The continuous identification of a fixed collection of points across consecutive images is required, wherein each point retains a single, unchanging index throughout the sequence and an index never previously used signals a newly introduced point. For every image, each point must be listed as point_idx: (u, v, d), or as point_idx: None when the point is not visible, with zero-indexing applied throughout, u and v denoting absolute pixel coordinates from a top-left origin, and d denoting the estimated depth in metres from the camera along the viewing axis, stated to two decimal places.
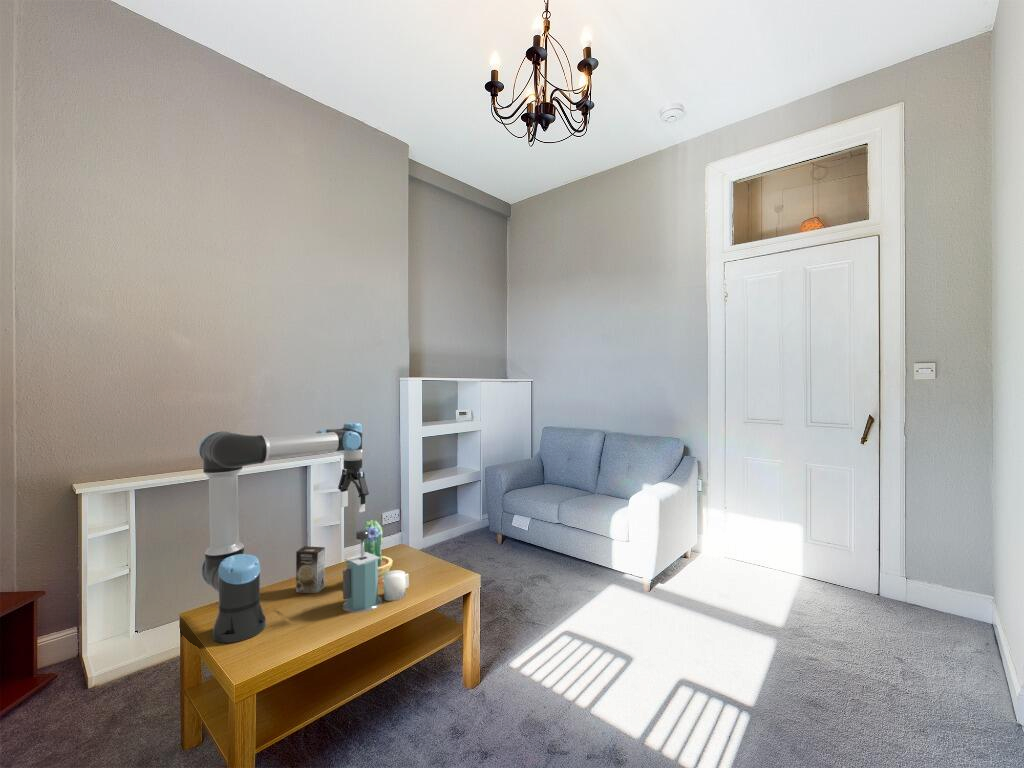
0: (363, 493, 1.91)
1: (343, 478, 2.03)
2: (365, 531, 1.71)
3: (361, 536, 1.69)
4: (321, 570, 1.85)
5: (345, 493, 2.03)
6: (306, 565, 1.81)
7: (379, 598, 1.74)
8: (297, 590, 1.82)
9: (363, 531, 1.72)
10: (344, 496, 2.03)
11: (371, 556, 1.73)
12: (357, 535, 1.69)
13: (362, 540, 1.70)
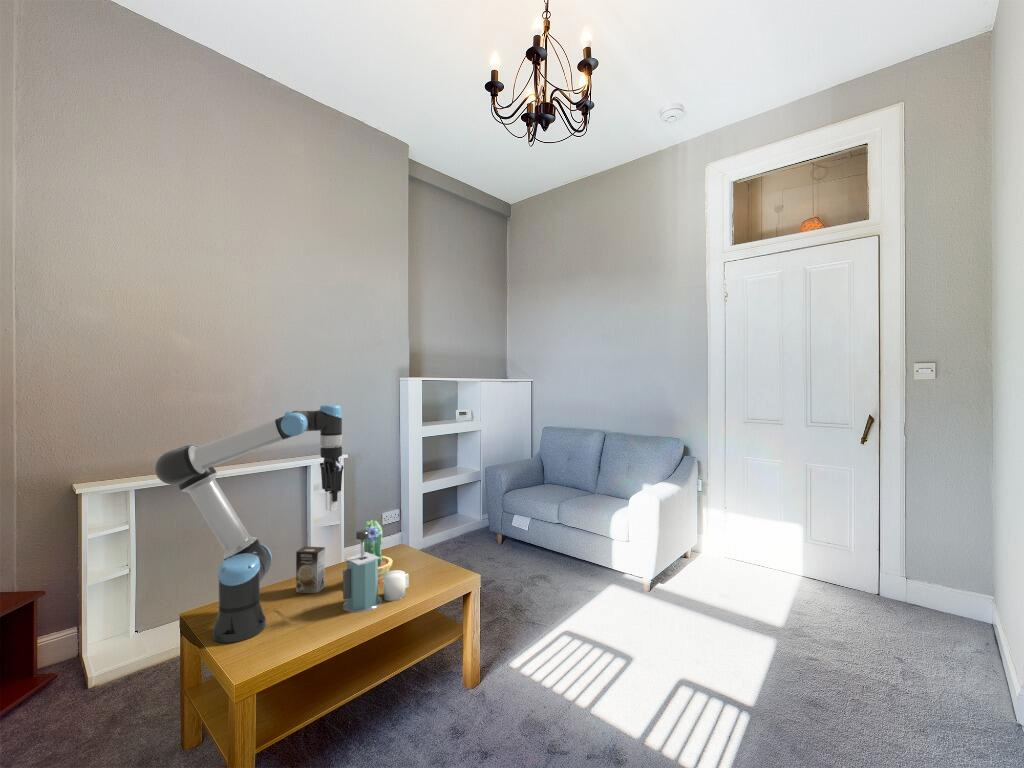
0: (335, 490, 1.70)
1: (324, 473, 1.76)
2: (365, 531, 1.71)
3: (361, 536, 1.69)
4: (321, 570, 1.85)
5: None
6: (306, 565, 1.81)
7: (379, 598, 1.74)
8: (297, 590, 1.82)
9: (363, 531, 1.72)
10: (329, 497, 1.74)
11: (371, 556, 1.73)
12: (357, 535, 1.69)
13: (362, 540, 1.70)
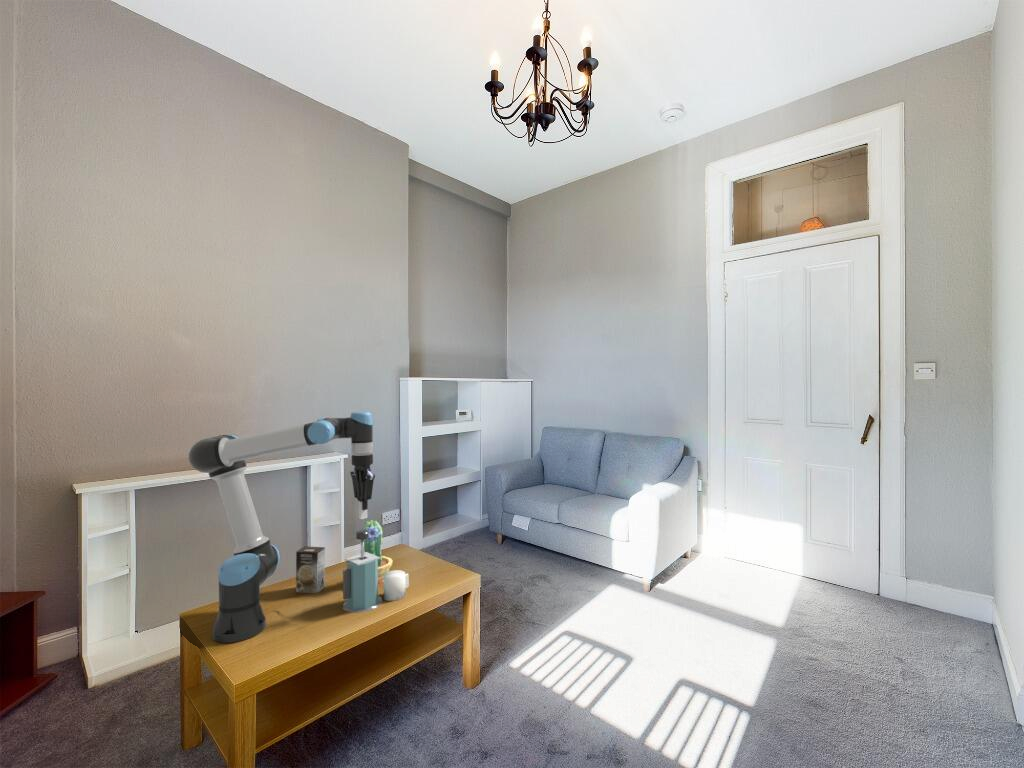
0: (365, 498, 1.68)
1: (355, 481, 1.73)
2: (365, 531, 1.71)
3: (361, 536, 1.69)
4: (321, 570, 1.85)
5: None
6: (306, 565, 1.81)
7: (379, 598, 1.74)
8: (297, 590, 1.82)
9: (363, 531, 1.72)
10: None
11: (371, 556, 1.73)
12: (357, 535, 1.69)
13: (362, 540, 1.70)
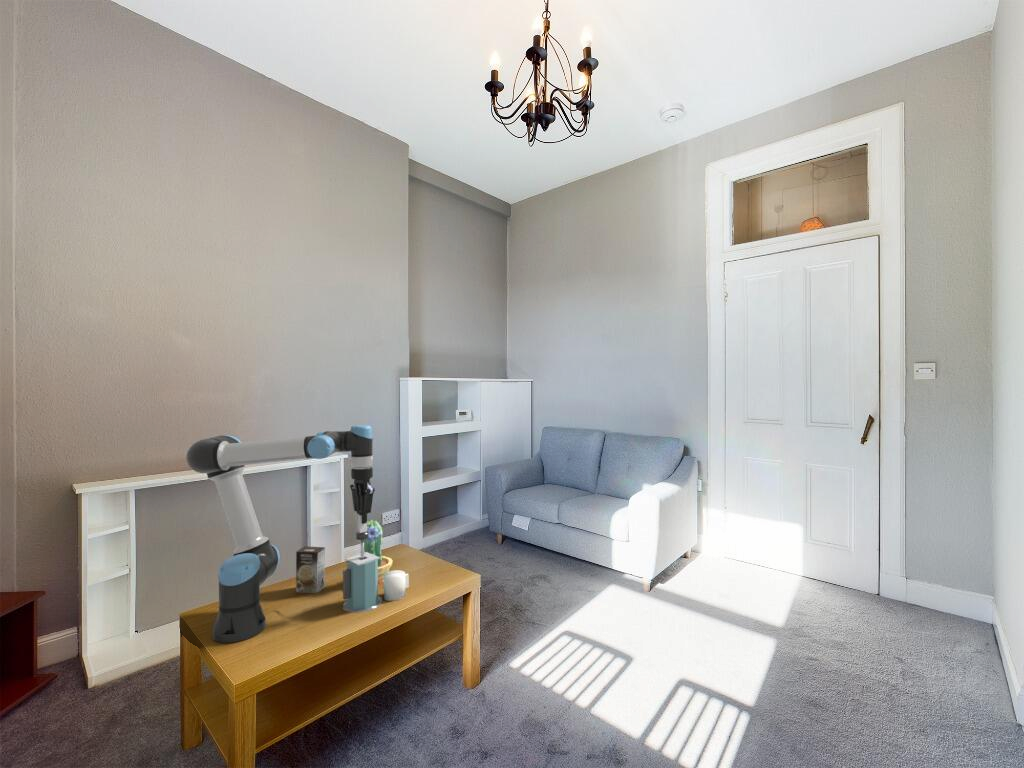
0: (365, 512, 1.68)
1: (355, 494, 1.73)
2: None
3: (361, 537, 1.69)
4: (321, 570, 1.85)
5: None
6: (306, 565, 1.81)
7: (379, 598, 1.74)
8: (297, 590, 1.82)
9: None
10: None
11: (371, 556, 1.73)
12: (357, 535, 1.69)
13: (362, 540, 1.70)
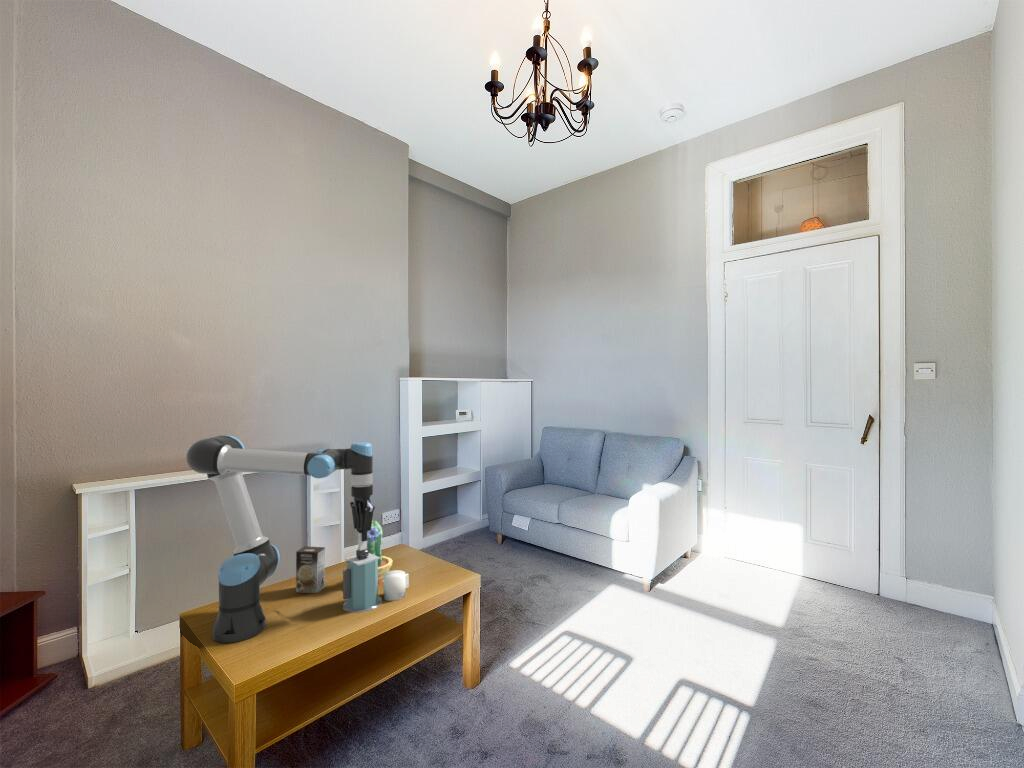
0: (365, 530, 1.68)
1: (355, 512, 1.73)
2: (365, 549, 1.71)
3: (361, 554, 1.69)
4: (321, 570, 1.85)
5: None
6: (306, 565, 1.81)
7: (379, 598, 1.74)
8: (297, 590, 1.82)
9: None
10: None
11: (371, 556, 1.73)
12: (357, 553, 1.69)
13: (362, 558, 1.70)
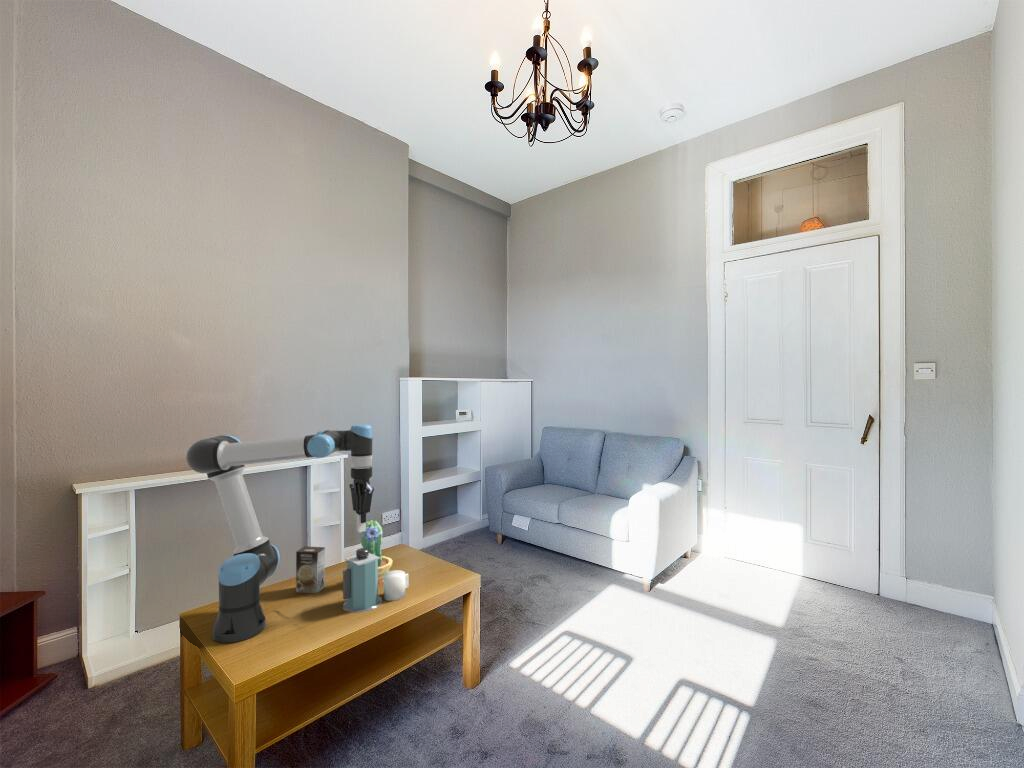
0: (364, 512, 1.68)
1: (354, 494, 1.73)
2: (365, 549, 1.71)
3: (361, 554, 1.69)
4: (321, 570, 1.85)
5: None
6: (306, 565, 1.81)
7: (379, 598, 1.74)
8: (297, 590, 1.82)
9: (363, 549, 1.71)
10: None
11: (371, 556, 1.73)
12: (357, 553, 1.69)
13: (362, 558, 1.70)
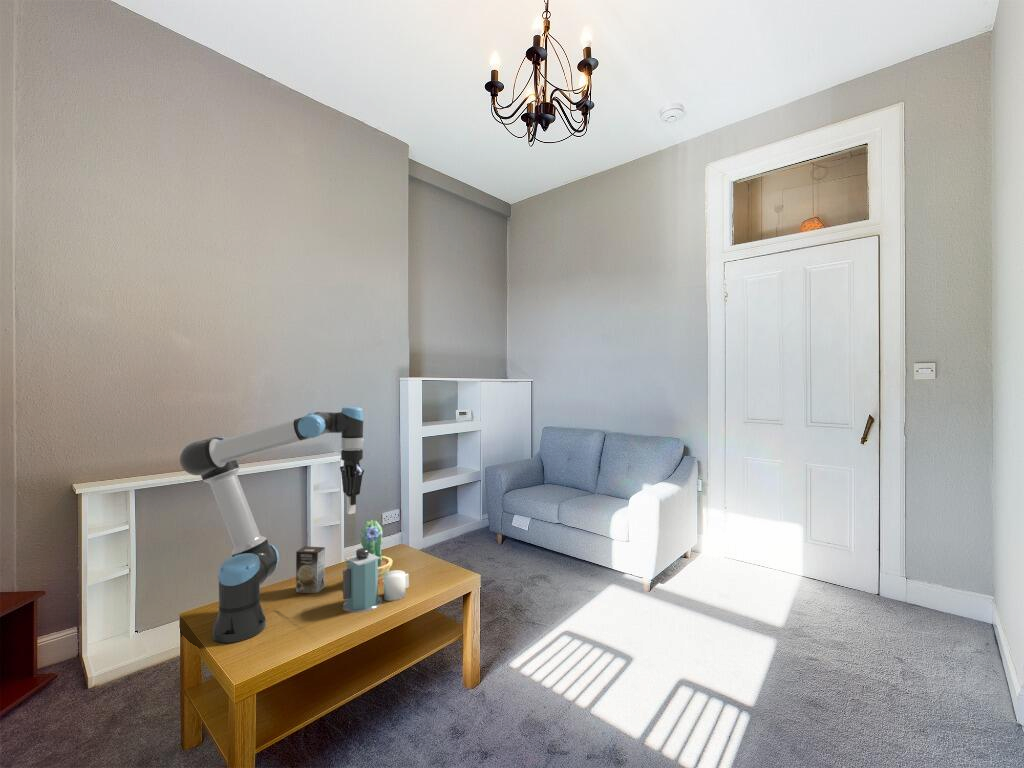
0: (353, 494, 1.68)
1: (344, 476, 1.73)
2: (365, 549, 1.71)
3: (361, 554, 1.69)
4: (321, 570, 1.85)
5: None
6: (306, 565, 1.81)
7: (379, 598, 1.74)
8: (297, 590, 1.82)
9: (363, 549, 1.71)
10: None
11: (371, 556, 1.73)
12: (357, 553, 1.69)
13: (362, 558, 1.70)
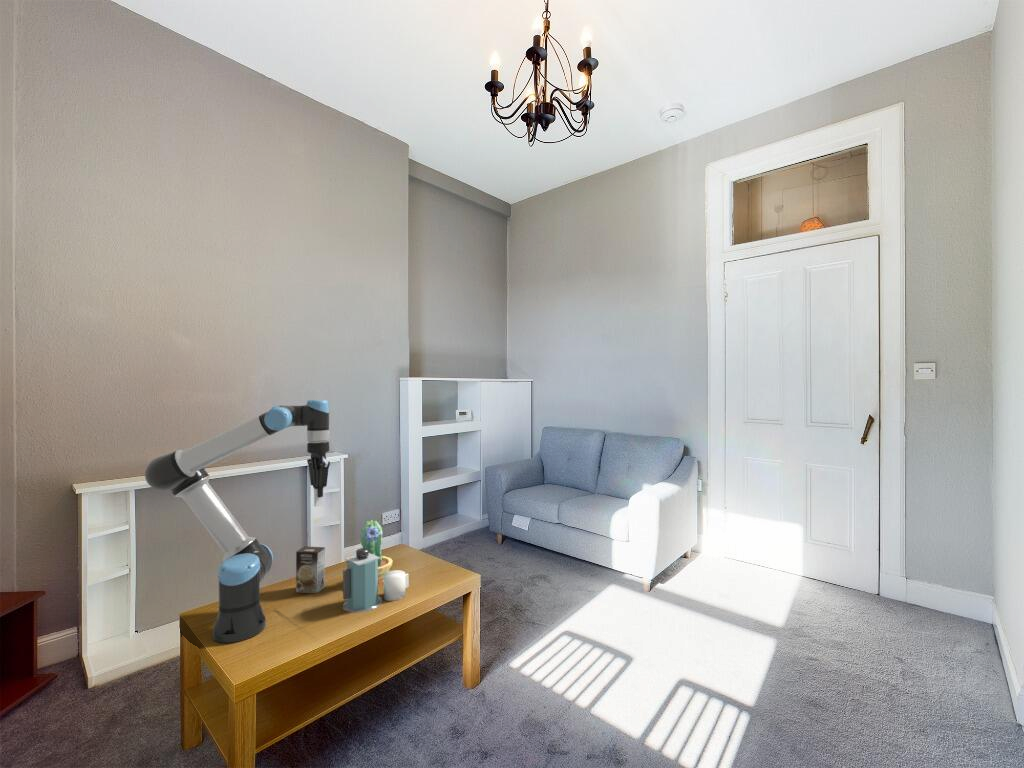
0: (320, 486, 1.69)
1: (311, 469, 1.74)
2: (365, 549, 1.71)
3: (361, 554, 1.69)
4: (321, 570, 1.85)
5: None
6: (306, 565, 1.81)
7: (379, 598, 1.74)
8: (297, 590, 1.82)
9: (363, 549, 1.71)
10: None
11: (371, 556, 1.73)
12: (357, 553, 1.69)
13: (362, 558, 1.70)
